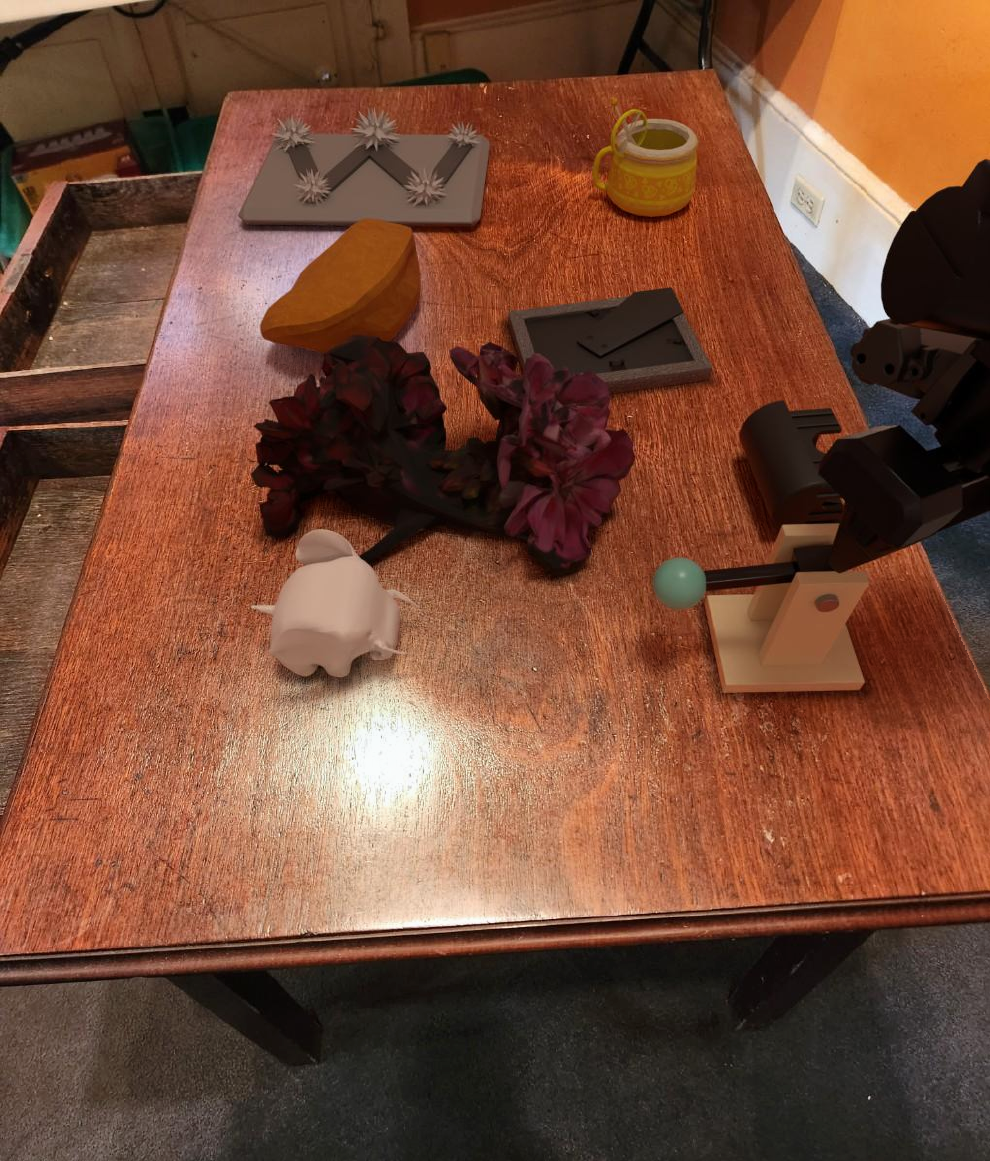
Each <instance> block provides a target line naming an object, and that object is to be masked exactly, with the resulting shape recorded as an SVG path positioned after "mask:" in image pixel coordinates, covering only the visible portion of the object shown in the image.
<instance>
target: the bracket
mask: <svg viewBox="0 0 990 1161" xmlns="http://www.w3.org/2000/svg"><path fill="white" fill-rule="evenodd" d="M838 526H839V523H838V524H795V525H782V527H781V529H780V530H779V532H778V535H777V537H776V539H775V541H774V543H773V547H772V549H771V552H770V554H769V556H768V559H767V561H766V563H765V564H773V563H783V562H791V558H792V554H793V549H794V548H802V547H811V546H821V545H830V544H833V542H834V539H835V536H836V533H837V529H838ZM869 585H870V579H869V576H868V573H867V571H866V570H848V571H845V572H843V573H840V574H839V573H837V572H836V571H831V572H797V573H796V575H795V577H794V579H793V581H792V583H783V584H774V585H764V586H756V588H755V590H754V593H753V594H752V593H751V594H750V593H749V594H747V593H745V594H708V595H706V598H705V600H704V609H705V614H706V618H707V619H706V620H707V623H708V624H707V625H708V628H709V633H710V638H711V642H712V647H713V653H714V657H715V662H716V667H717V671H718V677H719V682H720V687H721V691H722V693H723V694H728V693H733V694H734V693H776V692H777V693H778V692H779V693H780V692H781V693H782V692H823V691H824V692H826V691H828V692H829V691H830V692H831V691H859V690H861V688H862V687H863V686H864V684H865V682H866V680H865V678H864V675H863V672H862V669H861V666H860V663H859V660H858V657H857V654H856V651H855V648H854V645H853V641H852V639H851V636H850V633H849V629H848V627H847V624H846V623H847V622H848V620H849V618H850V616H851V615H852V613H853V611H854V610H855V608H856V606H857V605H858V604H859V602H860V600H861V598H862V597H863V595H864V593H865V592H866V590H867V589H868V586H869Z"/></svg>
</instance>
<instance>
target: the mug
mask: <svg viewBox="0 0 990 1161" xmlns="http://www.w3.org/2000/svg"><path fill="white" fill-rule="evenodd" d="M609 102H610V105H611V106H613V107H614V109H615V111H616V113H617V115H618V119H617V121H616V123H615V124H614V126H613V129H612V132H611V135H610V145H608V146H605V147H603V148H601V149H600V150H599V151H598V153H596V155H595V159H594V162H593V166H592V170H591V174H592V180H591V181H592V184H593V186H594V187H595V188H596V189H597V190H599V191H602V192H604V193H605V194H606V195H608V197H609V199H610V200H611V203H613V204H614V205H616V206H617V207H618V208H619V209H621V210H622V211H624V212H626V213H630V214H632V215H635V216H639V217H651V218H653V217H663V216H664V217H666V216H668V215H671V214H673V213H676V212H678V211H680V210H682V209H683V208H685V207H686V206H687V205H688V204H689V202H690V201H691V199H692V197H693V196H694V193H695V188H696V182H697V181H696V179H697V164H698V155H697V149H698V148H699V137H698V135H697V134H696V133H695V132H694V130H693V129H692V128H690V127H689V126H687V125H685V124H683V123H681V122H679V121H677V120H671V119H667V118H665V119H664V118H647V116H646V114H645V113H644V111H642V110H640V109H636V108H633V109H629V110H627V111H625V112H624V113H623V114H621V111H620V109H619V107H618V99H617V98H616V97H615V96H612V97H611V98H610V101H609ZM633 114H634V115H633ZM631 115H633V118H632V121H631V123H627V121H626V119H627V118H628V117H629V116H631ZM640 117H641V118H642V119H640ZM639 119H640V120H639ZM621 125H622V127H623V128H622V129H621V130H620V131H619V132H618V130H619V128H620V126H621ZM617 132H618V133H617ZM608 154H612V158H611V162H610V166H609V172H608V177H607V180H606V181H605V182H604V183H603V182H601V181H600V179H599V178H600V177H599V171H600V167H601V166H600V165H601V162H602V159H603V158H604V157H605V156H606V155H608Z"/></svg>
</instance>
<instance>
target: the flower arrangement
mask: <svg viewBox="0 0 990 1161" xmlns="http://www.w3.org/2000/svg"><path fill="white" fill-rule="evenodd" d="M531 355H532V356H533V357H529V358H526V362H525V366H524V371H523V370H522V374H521V373H516V371H517V368H518V364H519V358H517V356H516V355H515V354H514V353H512V352H511V351H509V350H508V349H506V348H504V347H503V346H501V345H499V344H496V343H494V342H491V341H488V342H487V343H486V344H483V345H481V347H480V348H479V355H477V356H476V355H475V354H474V353H473V352H472V351H470V350H468V349H465V348H463V347H461V346H455V347H453V348H451V349H450V350H449V358H450V360H451V362H452V363H453V365H454V367H455V369H456V370H457V372H458V374H460V375H461V376H462V377H464V379H466V380H467V381H468V382H470V384H472V385H473V386H474V387H475V388H476V389H477V394H478V396H479V400H480V402H481V403H482V405H483V406H484V407H485V409H486V410H487V411H488V413H489V415H491V417H492V418H493V420H494V421H498V424H497V428H496V433H495V438H494V440H487V441H485V442H484V441H483V440H482V439H481V438H480V437H479V436H470V437H467V440H466V442H465V444H462V445H461V446H460V447H458V448H457V449H446V446H447V430H446V428H445V423H444V422H445V421H444V416H443V415H444V413H446V412H447V409H448V407H447V406H446V404H445V403H444V402H443V401H442V399H441V393H440V389H439V386H438V385H437V382H436V381H435V379H434V377H433V375H432V373H431V370H432V364H431V361H430V359H429V357H428V355H426V353H425V351H416V352H415V351H413V352H407V351H406V349H405V348H404V347H403V346H402V345H401V344H400V343H399V342H395V341H382V340H381V339H380V338H379V337H374V336H365V335H356V334H354V335H353V336H351V337H349V338H347V339H346V342H345V343H343V344H340V345H338V346H336V347H334V348H332V349H330V350H329V351H327V352H326V353H325V354H323V356H322V357H323V358H322V359H323V360H322V364H321V371H322V373H323V375H324V376H323V375H321V376H320V378H318V382H319V386H318V384H317V379H316V375H315V374H313V373H312V372H311V373H309V374H308V375H307V378H306V380H303V381H302V382H300V383H298V384H297V386H296V388H295V391H294V393H293V395H292V396H281V398H280V397H279V398H273V399H271V400H269V401H268V403H269V405H270V407H271V410H272V411H273V413H274V414H275V418H276V421H275V420H270V419H267V418H264V420H263V421H262V422H256V424H254V425H253V428H254V429H255V430H257V431H258V432H260V434H261V438H260V439H259V440H260V441H259V442H256V443H255V444H254V447H255V454H256V461H257V463H258V465H257V466H256V468H254V469H253V471H252V472H251V473H250V476H251V478H252V480H253V483H254V485H255V486H257V487H258V488H268V489H270V490H269V491H268V492H267V494H266V496H267V498H266V501H264V502H262V503H260V504H259V513H260V515H261V517H262V520H263V525H264V530H265V535H266V536H270V537H273V538H276V539H277V538H285V537H290V536H291V535H293V534H294V533H295V532H297V531H298V529H299V526H300V523H301V520H302V504H304V503H306V502H308V501H311V500H312V499H314V498H316V497H319V496H320V495H324V494H328V493H330V494H332V495H334V496H336V497H338V499H340V500H342V501H343V503H345V504H346V505H347V507H348V508H350V509H351V510H355V511H357V512H360V513H361V514H364V515H366V516H369V517H371V518H374V519H376V520H378V521H380V522H382V523H385V524H387V525H389V526H391V527H392V528H393V529H391V530H390V531H389V532H388V533H387V534H386V535H384V536H383V537H382V538H380V539H379V540H378V541H377V542H376V543H375V544H374V545H373V546H371V547H370V548H369V549H368V550H366V551H365V552H363V553H361V554H359V555H358V556H359V557H360V558H361V559H362V560H364V561H365V562H366V563H367V564H368V565H370V564H371V563H372V562H374V561H376V560H377V559H378V558H380V557H382V556H383V555H385V554H387V552H390V551H391V550H392V549H393V548H395V547H397V546H399V545H400V544H402V543H403V542H405V541H406V540H408V539H410V538H411V537H413V536H414V535H415V534H418V533H419V532H421V530H426V529H431V528H436V527H440V526H444V525H447V526H451V527H455V528H459V529H463V530H467V531H470V532H475V533H481V534H486V535H490V536H495V537H500V538H507V539H514V540H521V541H524V542H527V544H526V545H527V548H526V549H527V550H526V551H527V552H526V553H527V555H528V557H530V558H531V559H533V560H534V561H535V562H536V563H537V564H539V565H541V567H543V568H544V569H545V570H546V571H548V572H549V573H550V574H552V576H554V577H560V576H565V575H570V574H574V573H575V572H576V571H577V570H578V569H580V567H581V566H582V565H583V564H584V563H585V562H586V561H587V560H588V559H589V558H590V557H591V555H592V546H591V544H590V542H589V540H588V536H589V535H590V534H592V533H593V532H595V531H596V530H597V529H598V528H599V527H600V526H601V525H602V524H603V518H604V517H605V516H606V515H609V514H610V512H611V510H612V509H611V506H612V504H613V503H615V501H616V499H617V498H618V496H619V495H620V494H621V492H622V489H621V488H622V487H621V484H620V481H621V480H623V479H625V478H627V476H628V474H629V473H630V471H631V470H632V467H633V465H634V464H635V461H636V454H635V451H634V446H633V441H632V439H631V437H630V435H629V433H628V432H627V431H626V430H625V429H624V428H621V429H618V430H615V429H614V428H612V429H610V428H609V429H607V425H608V421H609V417H610V414H611V409H610V408H609V406H610V403H611V399H612V395H611V394H609V392H608V389H607V387H606V385H605V383H604V381H603V380H602V379H601V378H599V377H598V376H597V375H596V374H594V373H593V372H591V371H587V372H583V373H579V374H576V375H575V374H574V373H573V376H570V373H569V371H568V368H567V366H565V367H564V368H562V369H561V370H559V371H555V370H554V368H553V366H552V364H551V363H550V361H549V360H548V359H546V358H545V357H543V356H542V355H541V354H539V353H537V354H531ZM272 466H278V467H279V468H280V469H278V470H275V469H274V468H273V467H272Z"/></svg>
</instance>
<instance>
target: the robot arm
mask: <svg viewBox="0 0 990 1161" xmlns="http://www.w3.org/2000/svg"><path fill="white" fill-rule="evenodd" d="M880 299H881V304H882V308H883V310H884V313H885V315H886V316H887V318H886V319H881V320H877V321H876V322H875V323H874V324H873V325H872V326H871V327H867V328H864V330H863V334H862V336H861V338H860V340H858V342H854V343H853V344H852V345H851V347H850V350H849V351H850V356H851V357H852V360H851V363H850V364H851V369H852V371H853V374H854V375H855V376H856V377H857V379H858V380H859V381H860V382H861V383H863V384H866V385H868V386H873V385H875V384H876V385H878V386H881V387H883V388H885V389H888V390H891V391H893V392H895V393H898V394H901V395H902V396H903V395H904V396H905V397H907V398H911V399H915V400H919V401H918V402H917V403H916V404H915V405H914V406H913V408H912V409H911V411H910V413H911V414H912V415H913V416H914V417H915V418H917V420H918V421H920V422H921V424H923V425H924V426H925V427H928V426H932V427H933V428H934V429H935V431H934V432H933V436H934V438H935V440H936V441H937V443H938V444H939V445H940V446H938V447H935V448H931V449H929V450H927V449H926V448H925V447H924V446H923V445H922V444H921V443H920V442H919V441H918V440H917V439H915V438H914V437H913V435H911V434H910V433H909V432H908V431H907V430H906V429H905V428H903V427H902V425H900V424H893V425H878V426H875V427H870V428H868V429H865V430H861V431H858V432H855V433H851V434H849V435H845V436H842V437H839V438H836V439H835V441H834V442H833V443H832V445H831V446H830V448H829V449H827V452H826V453H825V456H824V457H823V458H822V460H821V461H820V462H819V464H818V473H819V474H820V476H821V477H822V478H823V479H824V480H825V481H826V482H827V483H828V484H829V485H830V486H831V487H832V488H833V489H834V490H835V491H836V492H837V493H838V494H839V496H840V497H841V498H840V499H841V500H843V505H844V507H843V512H842V517H841V520H840V523H839V526H838V529H837V533H836V536H835V539H834V542H833V545H832V548H831V551H830V554H829V557H828V563H829V564H830V566H831V567H832V568H833V569H834V570H835V571H836V572H837V573H839V574H840V573H843V572H845V571H851V570H853V569H856V568H858V567H861V566H863V565H866V564H868V563H870V562H873V561H876V560H878V559H881V558H883V557H886V556H889V555H891V554H894V553H896V552H899V551H901V550H904V549H907V548H909V547H911V546H913V545H917V544H918V543H921V542H924V541H925V540H927V539H930V538H933V537H934V536H936V535H937V533H939V532H942V531H944V530H947V529H949V528H952V527H954V526H957V525H960V524H962V523H964V522H967V521H968V520H972V519H973V518H976V517H979V516H981V515H983V514H986V513H988V512H990V159H988V158H984V159H982V160H981V161H979V162H977V163H976V165H975V167H974V168H973V169H972V171H971V172H970V173H969V175H968V176H967V178H966V180H965V181H964V183H963V184H962V185H953V186H947V187H944V188H942V189H939V190H938V191H936V192H934V193H933V194H932V195H931V196H929V197H928V198H926V199H925V200H924V201H923V202H922V203H921V204H920V206H918V208H917V209H916V210H911V211H910V212H908V214H907V215H906V217H905V218H904V220H903V221H902V223H901V224H900V226H899V228H898V230H897V232H896V233H895V235H894V237H893V239H892V241H891V244H890V247H889V249H888V251H887V253H886V257H885V261H884V265H883V268H882V273H881V281H880Z"/></svg>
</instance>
